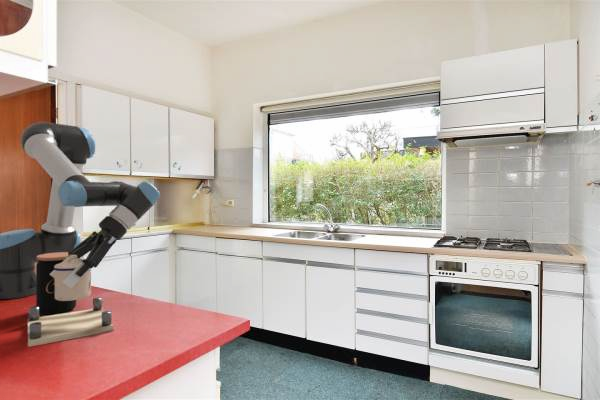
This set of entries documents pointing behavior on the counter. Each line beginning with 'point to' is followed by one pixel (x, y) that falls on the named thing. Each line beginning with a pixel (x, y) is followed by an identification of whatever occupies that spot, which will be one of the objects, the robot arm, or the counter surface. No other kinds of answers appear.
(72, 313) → the birch board
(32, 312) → the set of grey pegs
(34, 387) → the counter surface
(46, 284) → the coffee jar
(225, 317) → the counter surface
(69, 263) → the teacup with lid
